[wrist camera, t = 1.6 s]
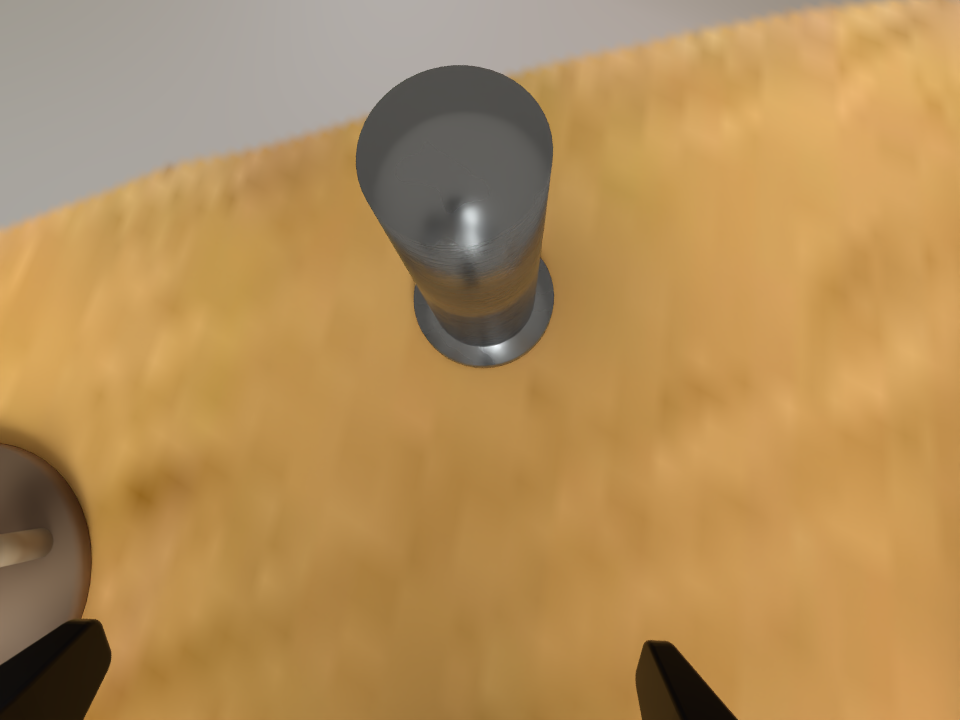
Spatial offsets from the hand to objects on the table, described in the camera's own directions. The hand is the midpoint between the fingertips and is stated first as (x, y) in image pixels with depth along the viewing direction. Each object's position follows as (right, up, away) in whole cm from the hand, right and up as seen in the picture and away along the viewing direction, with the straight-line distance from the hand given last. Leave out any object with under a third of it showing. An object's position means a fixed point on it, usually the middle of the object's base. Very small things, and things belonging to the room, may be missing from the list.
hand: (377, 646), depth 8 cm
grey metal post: (+2, +7, +14) cm, 15 cm away
